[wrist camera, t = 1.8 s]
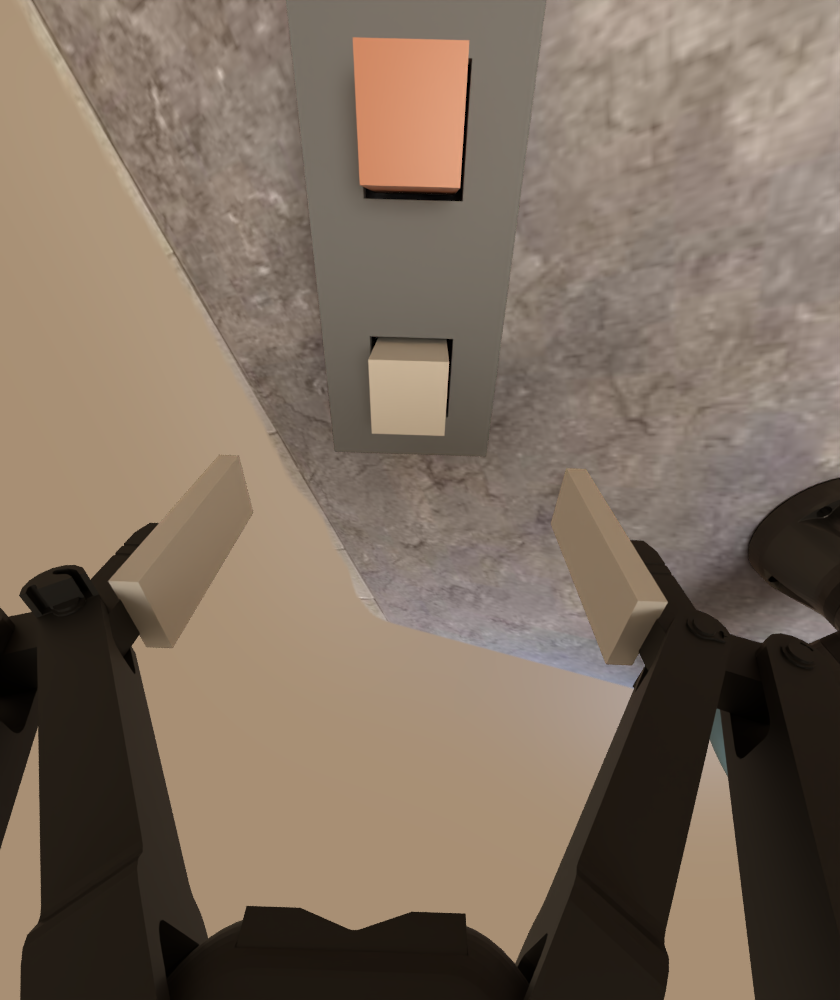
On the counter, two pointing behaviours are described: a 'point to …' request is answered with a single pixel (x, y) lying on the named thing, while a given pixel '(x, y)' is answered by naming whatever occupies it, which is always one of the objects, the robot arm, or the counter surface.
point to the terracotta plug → (410, 113)
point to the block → (414, 210)
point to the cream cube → (408, 386)
